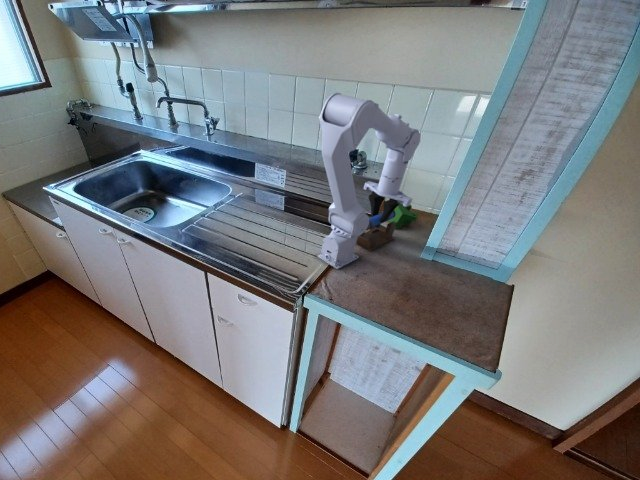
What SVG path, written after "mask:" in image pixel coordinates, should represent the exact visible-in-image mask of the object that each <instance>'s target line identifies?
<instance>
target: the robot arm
mask: <svg viewBox="0 0 640 480" xmlns="http://www.w3.org/2000/svg"><path fill="white" fill-rule="evenodd" d="M379 106H380V105H379V103H377V102H374V101H373V100H372V99H364V98H360V97H354V96H350V95H347V94H346V95H345V94H342V93H340V92H333V93H331V94H330V95H329V96H328V97H327V98H326V100H325V102H324V103H323V106H322V109H321V111H320V114H319V116H318V120H319V124H320V125H319V126H320V129H321V133H322V135H321V136H322V137H321V156H322V161H323V165H324V168H325V173H326V177H327V182H328V185H329V189H330V193H331V196H332V201H333V202H331V204H330V205H329V207H328V222H329V224H331V226H330V228H331V229H332V230H331V232H330V233H329V234H328V235H327V236H325V237H324V238H323V240H322V243H321V249H320V253H319V254H318V255H317V257H318V258H319V259H321V260H322V261H324V262H325V263H326V264H329V265H330V266H331V267H333V268H334V269H337V270H339V269H341V268H342V267H345V266H347V265H349V264H350V263H352V262H354V261H356V260H358V259H359V258H360V256H359V255H358V254H356V253H355V249H356V246H357V244H356V242H357V238H358V236H360V235H361V234H363V233H366V231H367V230H366V229H367V227H368V225H369V218H371V217H373V216H375V215H378V214H380V210H381V206H382V204H383V210H382V212H383V215H382V218H381V223H382V224H383V223H386V222H388V221H389V220H388V218H389V216H390V215H391V213H392V212H393V211H394V209H395V208H396V207H397V206H398V205H399V204H400V203H401V204H403V206H405V207H407V206H409V205H411V204H412V202H413V198H412V197H410V196H408V195H407V194H405V193H403V192H402V191H401V190H400V189H401V185H402V182H403V179H404V176H405V173H406V170H407V167H408V164H409V162H410V161H411V160H412V158H413V157H414V154H415V151H416V150H417V149H418V147H419V145H420V144H421V140H422V137H421V133H420V131H419V130H418V129H417V128H412V127H410V123H409V122H407V121H403V120H402V118H403V116H402V115H401V114H398V113H394V114H388V115H387V114H386V113H385V111H383V110H382V109H381V108H380V107H379ZM370 129H373V130H374V131H375V137H376V138H377V139H378V140H379V141H380V142H382V143H384V145H385V148H386V149H388V150H387V153H386V157H385V159H384V160H385V161H384V164H383V167H382V171H381V175H380V178H379V182H378V183H376V182H373V181H370V180H369V181H366V182H365V183H364V185H363V190H365V191H367V190H368V191H370V192H371V194H369V195H368V200H369V204H370V214H371V215H370V216H369V215H367V213H366V210H365V208H364V207H363V206H362V205H361V204H360V203H359V201H358V200H357V194H356V188H355V182H354V176H353V170H352V164H351V157H350V153H351V152H354V151H356V150H357V148H358V146H359V145H360V143H362V141H363V139H364V137H365V136H366V134H368V132H369V130H370ZM385 198H387V200H385ZM384 200H385V201H384ZM383 201H384V202H383ZM387 220H388V221H387Z"/></svg>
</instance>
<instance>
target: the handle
mask: <svg viewBox="0 0 640 480" xmlns="http://www.w3.org/2000/svg"><path fill="white" fill-rule="evenodd" d="M382 215H383V211H382V212H379V213H378V215H375V216H373V217H371V216H370V217H369V225H368V227H367V229H366V230H365V231H370V229H371V228H373V227H375V226H377V225H379V224H380V225H383V223H381V218H382ZM395 215H396V213H395V211H393V212H392V213H391V215H390V216H389V218H388V220H387V221H386V222H388V221H389V220H390V219H392V218H394V217H395Z"/></svg>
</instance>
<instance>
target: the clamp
mask: <svg viewBox="0 0 640 480" xmlns="http://www.w3.org/2000/svg"><path fill="white" fill-rule="evenodd" d="M412 208H413V206H412V205H411V204H410V205H409V206H407V207H405V206H403V204H401V203H400V204H399V205H398V206H397V207H396V208H395V209H394V211H395V213H396V215H395V217H394V218H392V219H390V220H388V221H389V223H391V222H393V221H394V222H397V223H396V226H395V229H401V227H402V226H408V227H410V225H411V223H412V222H416V221H417V220H418V218H419V215H418V213H416V212H413V211H411V209H412Z"/></svg>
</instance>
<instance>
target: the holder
mask: <svg viewBox="0 0 640 480" xmlns="http://www.w3.org/2000/svg"><path fill="white" fill-rule="evenodd" d="M396 223H397V222H394V221H393V222H391V223H390V222H389V223H387V225H386V226H384V225H383V224H379V225H377V226H375V227H373V228H371V229H369V230H367V231H365V232H364V233H363V234H361V235H360V236H358V238H357V242H356V245H357V246H359V247H361V248H363V249H365V250H367V252H371V251H372V250H375V249H377V248H379V247H380V246H382V245H384V244H386V243H388V242H390V241H393V235H394V231H395V229H396V228H395V226H396Z"/></svg>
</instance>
